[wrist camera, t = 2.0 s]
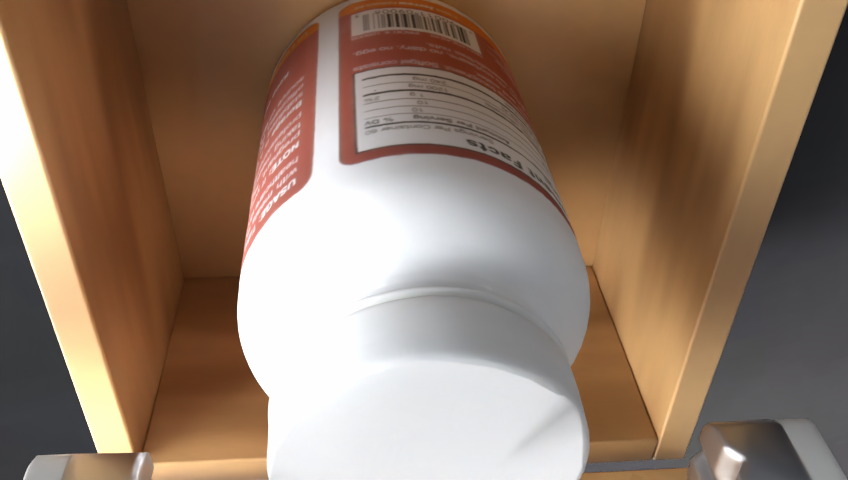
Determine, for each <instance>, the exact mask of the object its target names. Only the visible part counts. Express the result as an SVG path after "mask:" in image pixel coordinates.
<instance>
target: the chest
mask: <svg viewBox="0 0 848 480" xmlns="http://www.w3.org/2000/svg"><path fill="white" fill-rule="evenodd" d="M346 1H349V0H0V177H1V180H2V183H3V186H4V189H5V192H6V194H7V197H8V200H9V203H10V206H11V209H12V211H13V214H14V217H15V220H16V223H17V225H18V228H19V231H20V234H21V237H22V240H23V242H24V245H25V248H26V251H27V254H28V257H29V259H30V262H31V265H32V268H33V271H34V273H35V276H36V279H37V282H38V285H39V288H40V290H41V293H42V296H43V299H44V302H45V304H46V307H47V310H48V313H49V316H50V319H51V321H52V324H53V327H54V330H55V333H56V336H57V338H58V341H59V344H60V347H61V350H62V352H63V355H64V358H65V361H66V364H67V367H68V369H69V372H70V375H71V378H72V381H73V383H74V386H75V389H76V392H77V395H78V398H79V400H80V403H81V406H82V409H83V412H84V415H85V417H86V420H87V423H88V426H89V429H90V431H91V434H92V437H93V440H94V443H95V446H96V448H97V451H98V453H136V452H149V453H150V456H151V459H152V462H153V465H154V469H153V474H152V479H151V480H265V479H269V478H268V473H267V449H268V427H269V424H268V406H269V399H270V397H269V396H268V395H267V393H266V392H265V391H264V389H263V388H262V387H261V386H260V384H259V383H258V381H257V379H256V378H255V376H254V374H253V372H252V370H251V368H250V367H249V364H248V362H247V359H246V357H245V354H244V351H243V348H242V345H241V340H240V336H239V329H238V316H237V314H238V296H239V283H240V275H241V265H242V260H243V253H244V246H245V239H246V233H247V227H248V221H249V213H250V205H251V195H252V192H253V185H254V178H255V173H256V165H257V158H258V152H259V145H260V139H261V132H262V125H263V117H264V110H265V103H266V97H267V93H268V89H269V85H270V82H271V79H272V76H273V73H274V70H275V68H276V66H277V64H278V62H279V60H280V58H281V57H282V55H283V53H284V51H285V50H286V48H287V47H288V46H289V44H290V43H291V41H292V40H293V39H294V38H295V37H296V36H297V34H298V33H299V32H300V31H301V30H302V29H303V28H304V27H305V26H306V25H307V24H309V23H310V22H311V21H312V20H314V19H315V18H316V17H318V16H319V15H321V14H322V13H324V12H325V11H327V10H329V9H331V8H333V7H335V6H337V5H339V4H341V3H344V2H346ZM438 1H440V2H443V3H445V4H447V5H449V6H451V7H454V8H455V9H457V10H459V11H460V12H462V13H464V14H465V15H467V16H468V17H470V18H471V19H472V20H474V21H475V22H476V23H477V24H479V25H480V26H481V27H482V28H483V29H484V30H485V31H486V32H487V33H488V34H489V35H490V37H491V38H492V39H493V40H494V42H495V43H496V44H497V46H498V47H499V49H500V50H501V52H502V54H503V56H504V57H505V59H506V61H507V63H508V65H509V67H510V70H511V72H512V74H513V77H514V79H515V82H516V84H517V87H518V89H519V92H520V95H521V97H522V100H523V103H524V105H525V108H526V110H527V113H528V116H529V118H530V121H531V123H532V126H533V129H534V131H535V134H536V137H537V139H538V142H539V144H540V146H541V148H542V151H543V154H544V156H545V159H546V162H547V165H548V167H549V170H550V173H551V175H552V178H553V180H554V183H555V186H556V188H557V191H558V193H559V196H560V198H561V201H562V204H563V206H564V208H565V211H566V214H567V217H568V219H569V221H570V223H571V226H572V228H573V230H574V233H575V236H576V239H577V242H578V245H579V248H580V251H581V254H582V257H583V260H584V263H585V266H586V270H587V274H588V280H589V288H590V313H589V319H588V325H587V330H586V334H585V337H584V340H583V343H582V346H581V348H580V350H579V352H578V354H577V356H576V359H575V361H574V363H573V364H572V366H571V370H572V373H573V375H574V378H575V381H576V384H577V387H578V390H579V394H580V398H581V402H582V405H583V409H584V413H585V417H586V420H587V425H588V429H589V441H590V449H589V456H588V460H587V463H604V462H623V461H643V460H651V459H652V458H653V459H654V460H665V459H682V458H684V457H685V454H686V451H687V448H688V446H689V443H690V440H691V437H692V435H693V432H694V429H695V426H696V424H697V421H698V418H699V415H700V412H701V410H702V407H703V404H704V401H705V399H706V396H707V393H708V390H709V388H710V385H711V382H712V379H713V376H714V374H715V371H716V368H717V365H718V363H719V360H720V357H721V354H722V352H723V349H724V346H725V343H726V340H727V338H728V335H729V332H730V329H731V327H732V324H733V321H734V318H735V316H736V313H737V310H738V307H739V304H740V302H741V299H742V296H743V293H744V291H745V288H746V285H747V282H748V280H749V277H750V274H751V271H752V268H753V266H754V263H755V260H756V257H757V255H758V252H759V249H760V246H761V243H762V241H763V238H764V235H765V232H766V230H767V227H768V224H769V221H770V219H771V216H772V213H773V210H774V207H775V205H776V202H777V199H778V196H779V194H780V191H781V188H782V185H783V183H784V180H785V177H786V174H787V171H788V169H789V166H790V163H791V160H792V158H793V155H794V152H795V149H796V147H797V144H798V141H799V138H800V135H801V133H802V130H803V127H804V124H805V122H806V119H807V116H808V113H809V111H810V108H811V105H812V102H813V99H814V97H815V94H816V91H817V88H818V86H819V83H820V80H821V77H822V75H823V72H824V69H825V66H826V63H827V61H828V58H829V55H830V52H831V50H832V47H833V44H834V41H835V39H836V36H837V33H838V30H839V27H840V25H841V22H842V19H843V16H844V14H845V11H846V8H847V5H848V0H438Z"/></svg>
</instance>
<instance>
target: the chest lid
mask: <svg viewBox="0 0 848 480" xmlns="http://www.w3.org/2000/svg"><path fill="white" fill-rule="evenodd" d="M688 469H689V468H673V469H654V470H634V471H615V472H595V473H583V474H582V476H581V478H580V480H687V472H688Z"/></svg>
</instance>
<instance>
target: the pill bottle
mask: <svg viewBox="0 0 848 480" xmlns="http://www.w3.org/2000/svg"><path fill="white" fill-rule="evenodd" d="M589 313H590V288H589V280H588V274H587V270H586V266H585V263H584V260H583V257H582V254H581V251H580V248H579V245H578V242H577V239H576V236H575V233H574V230H573V228H572V226H571V223H570V221H569V219H568V217H567V214H566V211H565V208H564V206H563V204H562V201H561V198H560V196H559V193H558V191H557V188H556V186H555V183H554V180H553V178H552V175H551V173H550V170H549V167H548V165H547V162H546V159H545V156H544V154H543V151H542V148H541V146H540V144H539V142H538V139H537V137H536V134H535V131H534V129H533V126H532V123H531V121H530V118H529V116H528V113H527V110H526V108H525V105H524V103H523V100H522V97H521V95H520V92H519V89H518V87H517V84H516V82H515V79H514V77H513V74H512V72H511V70H510V67H509V65H508V63H507V61H506V59H505V57H504V56H503V54H502V52H501V50H500V49H499V47H498V46H497V44H496V43H495V42H494V40H493V39H492V38H491V37H490V35H489V34H488V33H487V32H486V31H485V30H484V29H483V28H482V27H481V26H480V25H479V24H477V23H476V22H475V21H474V20H472V19H471V18H470V17H468V16H467V15H465V14H464V13H462V12H460V11H459V10H457V9H455V8H454V7H451V6H449V5H447V4H445V3H443V2H440V1H438V0H349V1H346V2H344V3H341V4H339V5H337V6H335V7H333V8H331V9H329V10H327V11H325V12H324V13H322V14H321V15H319V16H318V17H316V18H315V19H314V20H312V21H311V22H310V23H309V24H307V25H306V26H305V27H304V28H303V29H302V30H301V31H300V32H299V33H298V34H297V36H296V37H295V38H294V39H293V40H292V41H291V43H290V44H289V46H288V47H287V48H286V50H285V51H284V53H283V55H282V57H281V58H280V60H279V62H278V64H277V66H276V68H275V70H274V73H273V76H272V79H271V82H270V85H269V89H268V93H267V97H266V103H265V110H264V117H263V125H262V132H261V139H260V145H259V152H258V158H257V165H256V173H255V178H254V185H253V192H252V195H251V205H250V213H249V221H248V227H247V233H246V239H245V246H244V253H243V260H242V265H241V275H240V283H239V296H238V314H237V316H238V329H239V336H240V340H241V345H242V348H243V351H244V354H245V357H246V359H247V362H248V364H249V367H250V368H251V370H252V372H253V374H254V376H255V378H256V379H257V381H258V383H259V384H260V386H261V387H262V388H263V389H264V391H265V392H266V393H267V395H268V396H269V397H270V399H269V406H268V424H269V427H268V449H267V473H268V478H269V480H580V478H581V476H582V474H583V472H584V470H585V466H586V463H587V460H588V456H589V449H590V441H589V429H588V425H587V420H586V417H585V413H584V409H583V405H582V402H581V398H580V394H579V390H578V387H577V384H576V381H575V378H574V375H573V373H572V370H571V366H572V364H573V363H574V361H575V359H576V356H577V354H578V352H579V350H580V348H581V346H582V343H583V340H584V337H585V334H586V330H587V325H588V319H589Z"/></svg>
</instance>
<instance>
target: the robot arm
mask: <svg viewBox="0 0 848 480" xmlns="http://www.w3.org/2000/svg"><path fill="white" fill-rule="evenodd" d="M699 441H700V443H701V446H702V448H703V450H701V451H700V452H699V453H697V454H696V455H695V456H694V457H692V459H691V462H690V465H689V469H688V472H687V480H848V479H847V477H846V476H845V474H844V472H843V471H842V469H841V467H840V466H839V464H838V462H837V461H836V459H835V457H834V456H833V454H832V453H831V451H830V449H829V448H828V446H827V444H826V443H825V441H824V439H823V438H822V436H821V434H820V433H819V431H818V429H817V428H816V426H815V424H814V423H813V422H811V421H810V420H809V419H807V418H794V419H778V420H770V419H762V420H747V421H731V422H716V423H708V424H707V425H706V426H704V427H703V429H702V431H701V434H700V436H699ZM153 469H154V465H153V462H152V459H151V456H150V453H149V452H136V453H96V454H62V455H38V456H36V457H35V459H34V460H33V461H32V462H31V464H30V465H29V466H28V468H27V471H26V474H25V476H24V479H23V480H151V479H152V474H153Z"/></svg>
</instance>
